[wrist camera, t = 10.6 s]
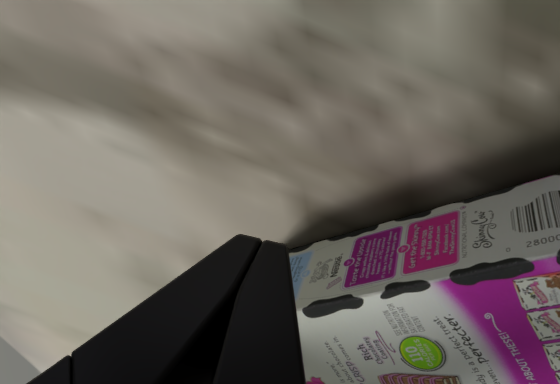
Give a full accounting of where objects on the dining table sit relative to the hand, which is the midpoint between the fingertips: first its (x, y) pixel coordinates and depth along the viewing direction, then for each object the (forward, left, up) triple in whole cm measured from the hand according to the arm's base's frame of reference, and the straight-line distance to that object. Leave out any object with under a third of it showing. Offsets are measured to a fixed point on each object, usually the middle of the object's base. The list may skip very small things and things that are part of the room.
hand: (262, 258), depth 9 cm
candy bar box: (-7, -14, -10) cm, 18 cm away
